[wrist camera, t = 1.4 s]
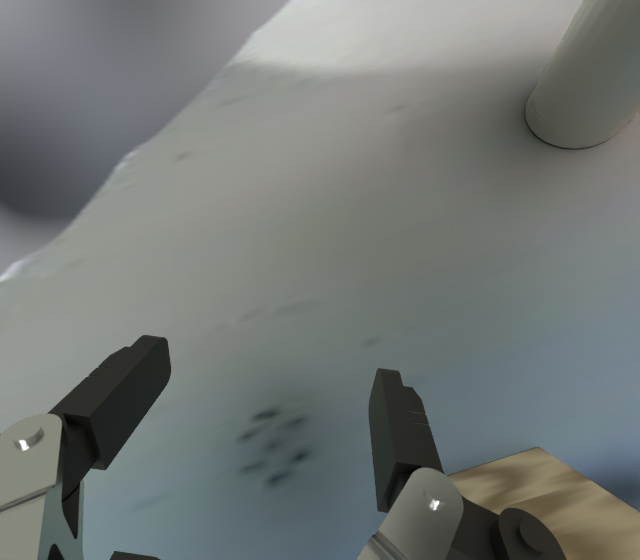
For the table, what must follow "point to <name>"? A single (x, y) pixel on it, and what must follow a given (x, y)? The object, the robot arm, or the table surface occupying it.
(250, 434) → the table surface
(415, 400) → the robot arm
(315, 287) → the table surface
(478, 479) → the key box
